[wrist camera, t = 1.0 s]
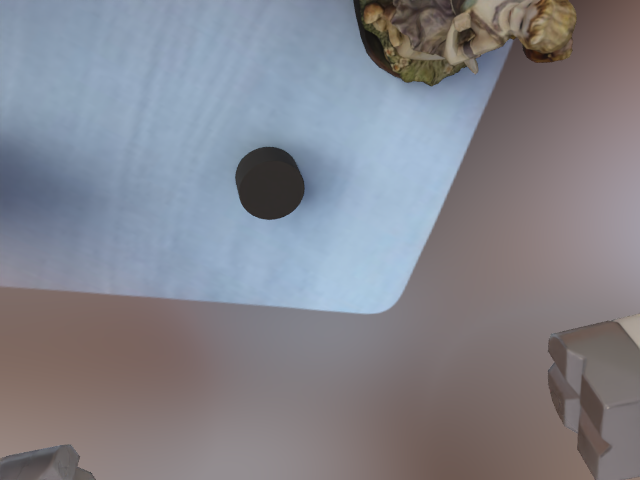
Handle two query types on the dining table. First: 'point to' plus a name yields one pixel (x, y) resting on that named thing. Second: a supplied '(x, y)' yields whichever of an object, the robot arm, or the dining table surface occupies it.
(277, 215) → the cylinder
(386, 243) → the dining table surface
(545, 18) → the figurine
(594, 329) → the robot arm
